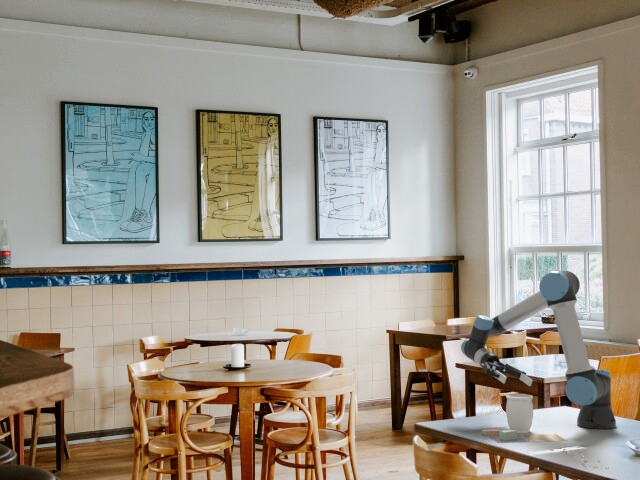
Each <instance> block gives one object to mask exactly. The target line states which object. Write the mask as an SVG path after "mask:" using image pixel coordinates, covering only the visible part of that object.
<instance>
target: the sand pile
mask: <svg viewBox="0 0 640 480" xmlns="http://www.w3.org/2000/svg"><path fill="white" fill-rule="evenodd" d="M522 436H524V437H525V439H526V438H527V439H528V440H530V441H531V442H533V443H535V442H536V443H542V442H543V443H544V442H546V443H547V442H548V443H549V442H568V439H565V438H564V437H563V436H560V435H559V434H555V433H554V434H553V433H549V434H523V435H522Z"/></svg>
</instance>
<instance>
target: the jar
mask: <svg viewBox="0 0 640 480" xmlns="http://www.w3.org/2000/svg"><path fill="white" fill-rule="evenodd" d="M505 398H506V405H505V406H506V407H505V413H506V415H505V416H506V418H507V425H508V427H509V428H510V429H509V430H511V429H513V430H516V431H517V434H528V433H530V432H531V431H530V429H531V428H532V426H533V425H532V424H533V418H534V404H533V401H532V400H533V399H534V396H533V395H531V394H527V393H510V394H506V395H505Z"/></svg>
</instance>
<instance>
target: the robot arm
mask: <svg viewBox="0 0 640 480" xmlns="http://www.w3.org/2000/svg"><path fill="white" fill-rule="evenodd" d="M538 285H539V288H538V289H539V291H537V292H535V293H534V294H532V295H530V296H528V297H527V298H525V299H523V300H522V301H520V302H518V303H517V304H515V305H513V306H512V307H509V308H508V309H507V310H506V309H505V310H504V311H502V312H501V313H500V314H498V315H496V316H495V317H493V318H491V317H488V316H486V315H480V314H479V315H477V316H476V318H475V320H474V322H473V325H472V329H471V332H470V334H469V335H470V336H469V338H467V339H464V340H463V342H462V344H461V345H460V350H461V353H462V354H463V355H465V357H466V358H468V359H469V360H471V361H473V362H474V363H475V364H477V365H478V366H479V367H480V368H482V369H483V371H484V373H485V374H486V375H489V377H490V378H493V377H494V378H495V379H497V380H498V381H500V382H501V383H502V384H505V383H506V382H507V381H506V380H507V378H508V377H507V376H506V374H507V375H510V376H513V377H515V378H517V379H519V380H520V381H522V382H523V383H524V384H526V385H527V386H528V387H531V386H532V384H533V381H534V380H533V379H531V377H529V376H527V372H525V371H524V370H523V371H522V370H520V369H518V368H516V367H514V366H511V365H510V364H508V363H503V362H501V361H500V358H499V357H498V355H497V354H494V353H493V352H492V351H491V350H489V349H487V348H486V345H487V342H488V339H489V338H493V337H494V338H495V337H499V336H502V335H504V334H505V332H507V331H508V330H509V329H511V328H513V327H515V326H517V325H518V324H520V323H522V322H524V321H525V320H527V319H529V318H532V317H533V316H534V315H536V314H538V313H540V312H541V311H543V310H545V309H547V308H549V309H550V310H552V312H553V316H554V321H555V324H556V328H557V331H558V332H557V333H558V335H559V340H560V344H561V347H562V350H563V351H562V352H563V355H564V360H565V362H566V366H567V370H566V371H565V372H564V373H565V374H564V375H565V379H566V384H565V390H564V391H565V394H566V397H567V399H568V400H569V401H570V402H571V403H573V404H575V405H576V406H580V410H579V412H578V415H577V418H576V425H577V426H579V427H580V428H586V429H595V430H596V429H598V430H601V429H603V430H607V429H614V428H616V427H617V420H616V417H615V415H614V412H613V409H612V394H611V393H612V391H611V390H612V387H611V386H612V385H611V383H612V382H611V380H612V377H611V372H610V371H609V370H607V369H596V367H594V366H593V365H591V363H590V361H589V356H588V353H587V348H586V346H585V341H584V337H583V334H582V330H581V326H580V323H579V319H578V315H577V312H576V307H575V306H576V303H577V302H578V299H577V296H576V295H577V294H578V292H579V290H580V287H581V284H580V280H579V278H578V275H576V274H575V273H574V272H571V271H570V270H552V271H549V272H547V273H545V274H544V275H543V276H542V277H541V279H540V282H539V284H538Z"/></svg>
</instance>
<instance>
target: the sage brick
mask: <svg viewBox="0 0 640 480" xmlns="http://www.w3.org/2000/svg"><path fill="white" fill-rule="evenodd" d="M517 435H518V433H517V431H516V430H513V429H511V430H510V429H505V430H504V429H503V430H500V431H499V435H498V436H499V439H501V440H513V439H517Z"/></svg>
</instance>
